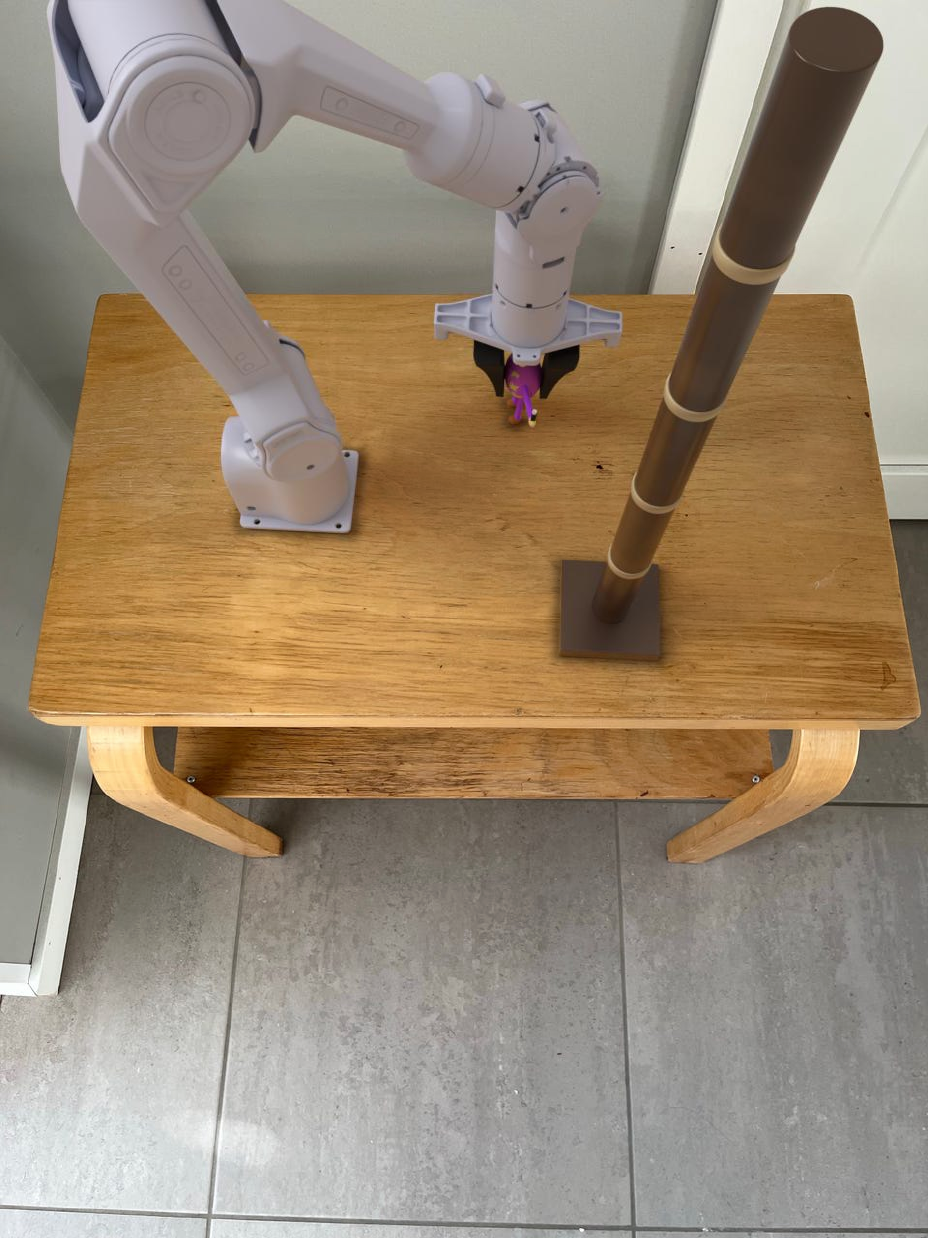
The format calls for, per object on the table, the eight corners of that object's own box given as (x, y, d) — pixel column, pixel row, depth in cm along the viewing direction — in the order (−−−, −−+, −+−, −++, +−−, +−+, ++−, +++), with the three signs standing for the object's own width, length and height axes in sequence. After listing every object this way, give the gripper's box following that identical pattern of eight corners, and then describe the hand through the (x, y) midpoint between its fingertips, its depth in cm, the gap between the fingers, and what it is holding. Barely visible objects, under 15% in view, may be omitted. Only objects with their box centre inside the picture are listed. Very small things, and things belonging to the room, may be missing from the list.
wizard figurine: (491, 364, 85) (496, 271, 73) (525, 360, 85) (535, 266, 74) (512, 469, 81) (520, 388, 69) (548, 464, 81) (561, 383, 70)
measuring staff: (558, 656, 74) (716, 125, 28) (560, 566, 77) (705, -51, 31) (657, 661, 74) (982, 136, 28) (655, 571, 77) (947, -43, 30)
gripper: (428, 317, 65) (434, 423, 78) (632, 326, 65) (605, 431, 78) (435, 239, 68) (440, 355, 80) (631, 248, 67) (605, 362, 80)
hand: (521, 388), depth 79 cm, fingers closed on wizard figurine, 3 cm apart
